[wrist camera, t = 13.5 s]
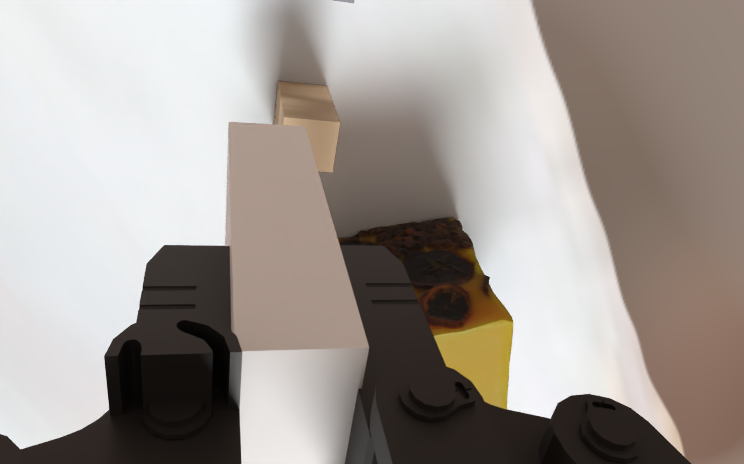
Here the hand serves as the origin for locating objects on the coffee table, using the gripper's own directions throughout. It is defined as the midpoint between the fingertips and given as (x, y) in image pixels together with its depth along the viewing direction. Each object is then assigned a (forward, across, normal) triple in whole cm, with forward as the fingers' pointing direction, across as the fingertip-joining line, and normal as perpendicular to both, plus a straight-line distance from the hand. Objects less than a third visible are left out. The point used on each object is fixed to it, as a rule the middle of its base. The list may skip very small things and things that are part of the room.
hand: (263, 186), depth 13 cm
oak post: (+21, +3, -6) cm, 22 cm away
